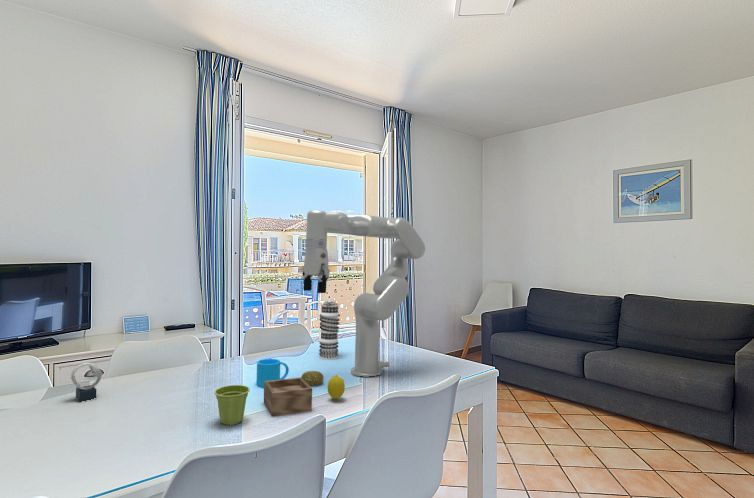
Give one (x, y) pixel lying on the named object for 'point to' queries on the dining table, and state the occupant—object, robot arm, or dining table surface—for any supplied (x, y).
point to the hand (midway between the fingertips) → (314, 291)
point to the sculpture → (313, 378)
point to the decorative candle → (329, 331)
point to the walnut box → (287, 396)
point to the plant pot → (231, 403)
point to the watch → (86, 391)
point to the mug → (269, 371)
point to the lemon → (336, 387)
